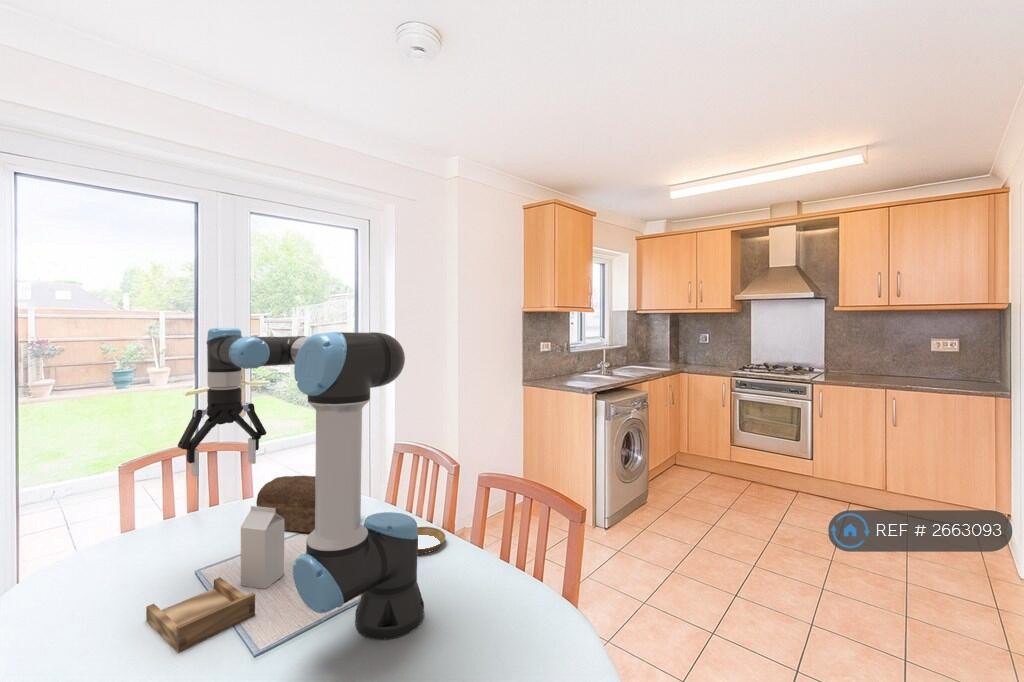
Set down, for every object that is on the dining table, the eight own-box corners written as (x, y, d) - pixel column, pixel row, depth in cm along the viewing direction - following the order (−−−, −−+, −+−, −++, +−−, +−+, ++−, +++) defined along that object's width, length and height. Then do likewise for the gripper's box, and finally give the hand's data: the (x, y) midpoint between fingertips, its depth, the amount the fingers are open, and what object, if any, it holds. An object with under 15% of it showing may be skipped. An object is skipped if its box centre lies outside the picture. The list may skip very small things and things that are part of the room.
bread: (340, 539, 145) (340, 488, 144) (248, 528, 150) (248, 479, 150) (363, 519, 159) (363, 473, 158) (278, 511, 165) (279, 466, 164)
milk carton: (265, 589, 116) (265, 514, 116) (240, 585, 118) (240, 511, 117) (284, 574, 123) (284, 503, 123) (260, 571, 125) (260, 500, 124)
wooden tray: (255, 615, 106) (255, 593, 106) (178, 652, 94) (178, 628, 94) (219, 589, 116) (219, 570, 116) (146, 620, 104) (146, 598, 103)
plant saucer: (453, 549, 140) (453, 540, 140) (406, 562, 131) (406, 553, 131) (432, 530, 152) (432, 522, 152) (388, 542, 144) (388, 533, 144)
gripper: (266, 381, 134) (266, 455, 135) (161, 390, 114) (162, 477, 115) (279, 384, 129) (279, 460, 130) (173, 394, 109) (174, 484, 110)
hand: (224, 468), depth 122 cm, fingers open, 13 cm apart
